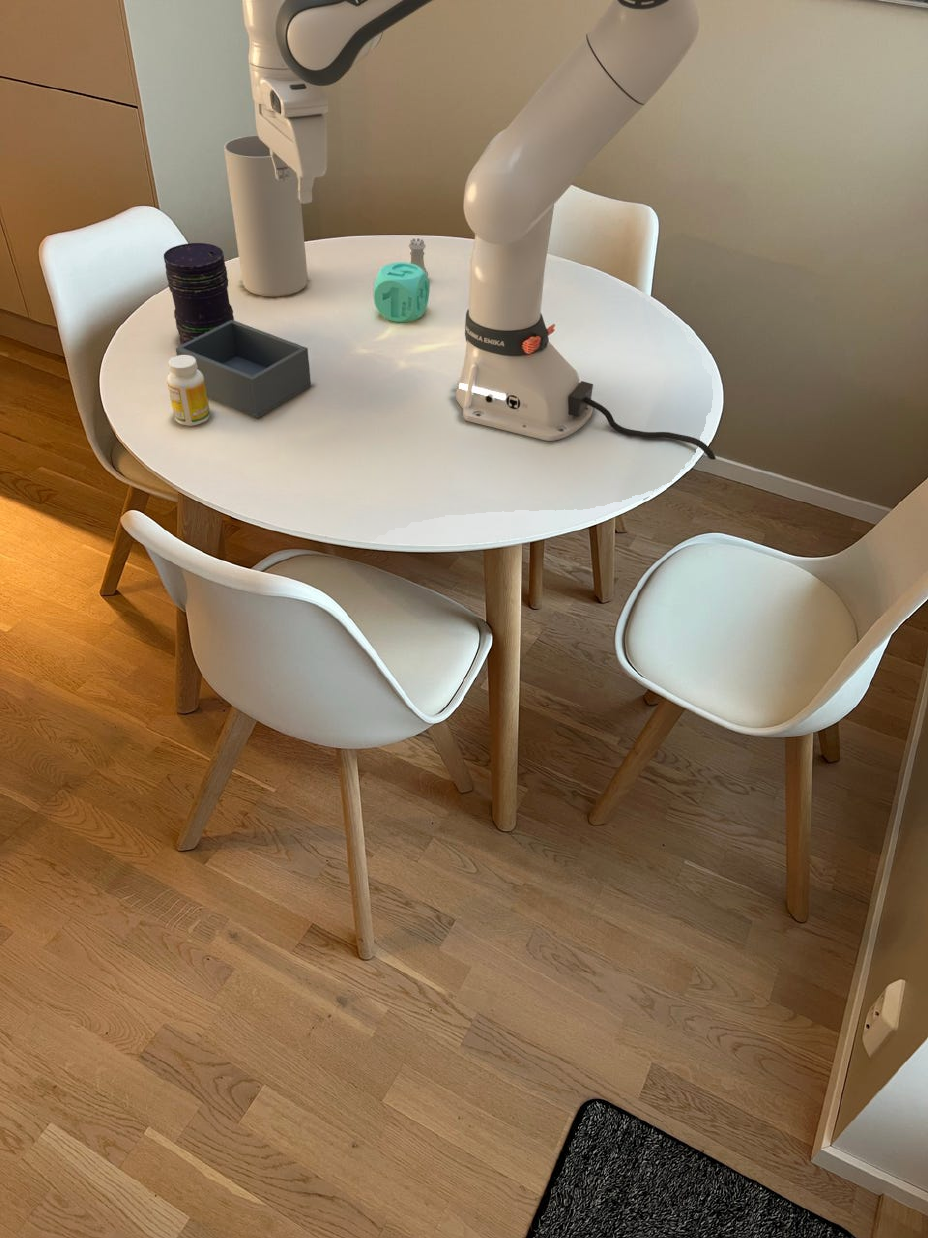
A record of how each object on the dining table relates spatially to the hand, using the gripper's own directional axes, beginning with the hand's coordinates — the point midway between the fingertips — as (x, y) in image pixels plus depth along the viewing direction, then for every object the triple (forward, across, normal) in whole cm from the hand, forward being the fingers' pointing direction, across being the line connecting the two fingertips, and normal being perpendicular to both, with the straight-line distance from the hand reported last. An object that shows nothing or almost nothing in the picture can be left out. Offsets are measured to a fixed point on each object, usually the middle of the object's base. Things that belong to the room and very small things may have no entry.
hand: (293, 190), depth 136 cm
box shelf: (+29, 0, -11) cm, 31 cm away
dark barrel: (+29, -18, -12) cm, 37 cm away
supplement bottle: (+29, +6, -22) cm, 37 cm away
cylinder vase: (+29, -35, +6) cm, 46 cm away
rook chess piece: (+29, -25, +32) cm, 50 cm away
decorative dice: (+29, -14, +23) cm, 40 cm away
